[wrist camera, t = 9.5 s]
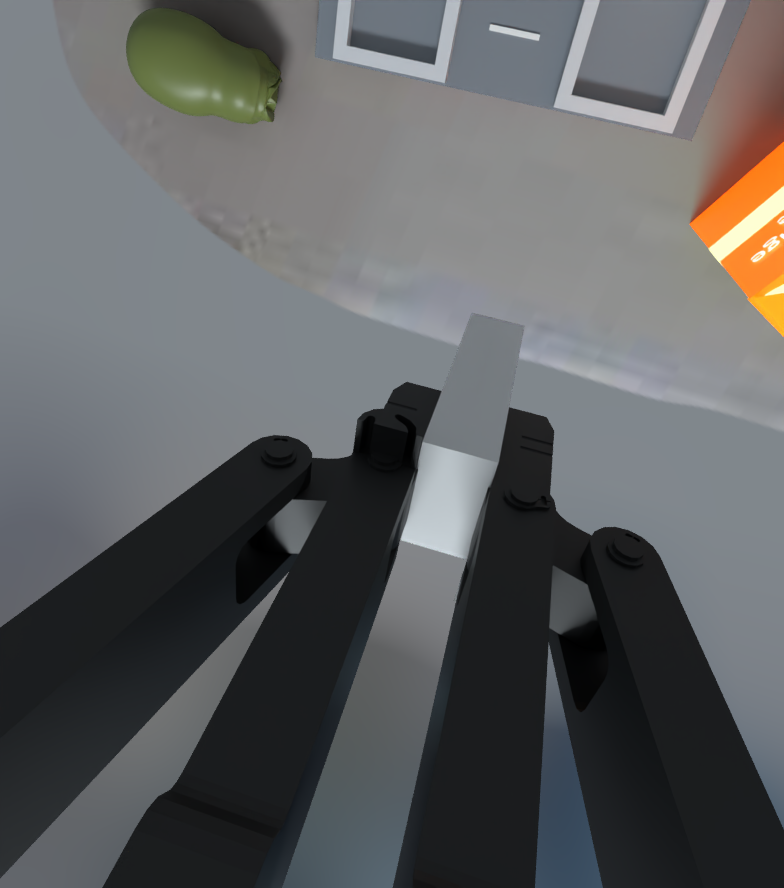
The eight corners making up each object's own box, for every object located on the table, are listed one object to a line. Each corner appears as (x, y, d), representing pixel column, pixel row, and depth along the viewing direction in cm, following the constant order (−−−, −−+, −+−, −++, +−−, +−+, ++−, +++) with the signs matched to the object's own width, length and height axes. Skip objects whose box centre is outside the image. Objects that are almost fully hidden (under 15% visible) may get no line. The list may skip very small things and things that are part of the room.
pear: (115, -10, 35) (282, 58, 36) (149, -8, 39) (297, 52, 40) (110, 94, 38) (263, 152, 39) (142, 85, 42) (279, 138, 44)
